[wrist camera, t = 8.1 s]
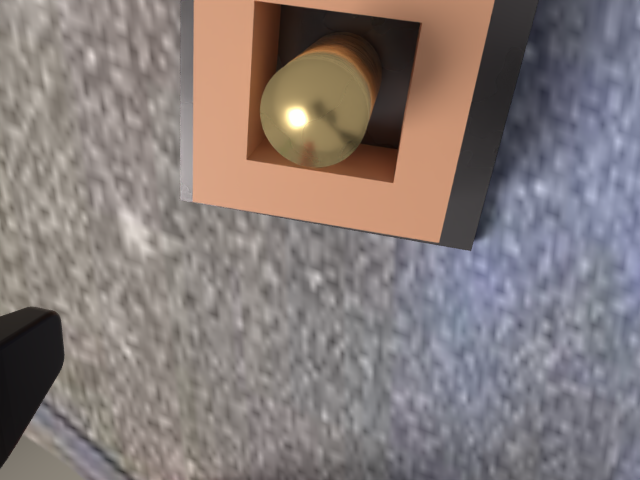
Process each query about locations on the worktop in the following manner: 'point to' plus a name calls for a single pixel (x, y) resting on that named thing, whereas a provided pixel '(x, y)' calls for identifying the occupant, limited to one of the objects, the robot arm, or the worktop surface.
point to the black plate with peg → (369, 97)
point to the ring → (366, 161)
